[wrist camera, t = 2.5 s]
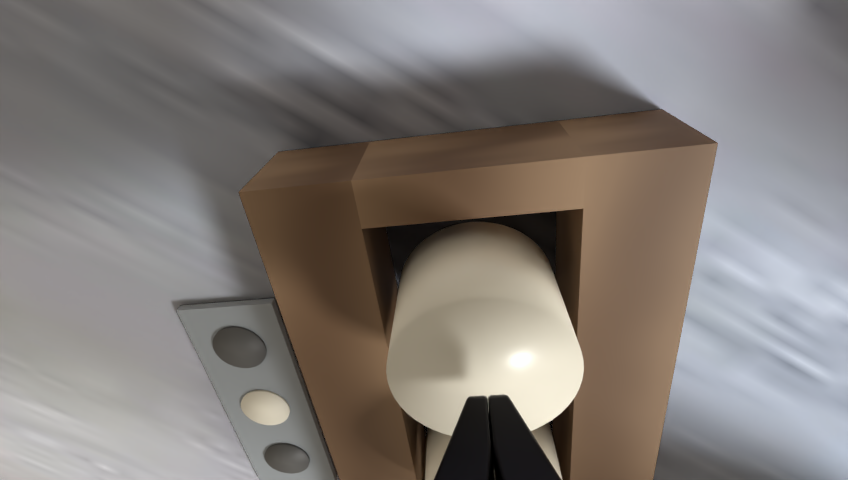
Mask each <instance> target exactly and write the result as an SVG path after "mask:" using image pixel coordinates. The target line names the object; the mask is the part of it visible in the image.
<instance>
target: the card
mask: <svg viewBox="0 0 848 480" xmlns="http://www.w3.org/2000/svg"><path fill="white" fill-rule="evenodd" d="M176 311H177V313H178V315H179V317H180V319H181V321H182V324H183V326H184V328H185V330H186V332H187V334H188V336H189V338H190V340H191V342H192V344H193V346H194V348H195V350H196V352H197V354H198V356H199V358H200V360H201V362H202V364H203V366H204V368H205V370H206V372H207V374H208V376H209V378H210V380H211V382H212V384H213V387H214V389H215V391H216V393H217V395H218V397H219V399H220V401H221V403H222V405H223V407H224V409H225V411H226V413H227V415H228V417H229V419H230V421H231V423H232V425H233V427H234V429H235V431H236V433H237V435H238V437H239V439H240V441H241V443H242V445H243V448H244V450H245V452H246V454H247V456H248V458H249V460H250V462H251V464H252V466H253V468H254V470H255V472H256V474H257V476H258V478H259V480H336V479H337V474H336V471H335V468H334V466H333V463H332V460H331V457H330V454H329V451H328V449H327V446H326V443H325V440H324V437H323V434H322V432H321V429H320V426H319V423H318V420H317V418H316V415H315V412H314V409H313V406H312V403H311V401H310V398H309V395H308V392H307V389H306V386H305V384H304V381H303V378H302V375H301V372H300V370H299V367H298V364H297V361H296V358H295V355H294V353H293V350H292V347H291V344H290V341H289V338H288V336H287V333H286V330H285V327H284V324H283V322H282V319H281V316H280V313H279V310H278V307H277V305H276V302H275V299H274V298H271V299H258V300H245V301H232V302H219V303H206V304H193V305H180V307H179V308H178V309H177V310H176Z"/></svg>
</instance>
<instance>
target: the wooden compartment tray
mask: <svg viewBox="0 0 848 480" xmlns="http://www.w3.org/2000/svg"><path fill="white" fill-rule="evenodd" d="M717 145H718V143H717V142H715V141H714V140H712V139H710V138H709V137H707V136H705V135H704V134H702V133H700V132H699V131H697V130H695V129H694V128H692V127H690V126H689V125H687V124H686V123H684V122H682V121H681V120H679V119H677V118H676V117H674V116H672V115H671V114H669V113H667V112H666V111H664V110H662V109H659V110H650V111H641V112H632V113H623V114H614V115H605V116H596V117H587V118H578V119H569V120H560V121H551V122H542V123H533V124H524V125H515V126H506V127H497V128H488V129H479V130H470V131H461V132H452V133H443V134H434V135H425V136H416V137H407V138H398V139H389V140H380V141H371V142H362V143H353V144H344V145H335V146H326V147H317V148H308V149H299V150H290V151H281V152H278V153H277V154H276V155H275V156H274V157H273V158H272V159H271V160H270V161H269V162H268V163H267V164H266V165H265V166H264V167H263V168H262V169H261V170H260V171H259V172H258V173H257V174H256V175H255V176H254V177H253V178H252V179H251V180H250V181H249V182H248V183H247V184H246V185H245V186H244V187H243V188H242V189H241V190H240V191H239V195H240V198H241V201H242V204H243V207H244V209H245V212H246V215H247V218H248V221H249V224H250V227H251V229H252V232H253V235H254V238H255V241H256V244H257V246H258V249H259V252H260V255H261V258H262V261H263V263H264V266H265V269H266V272H267V275H268V278H269V280H270V283H271V286H272V289H273V292H274V295H275V298H276V300H277V303H278V306H279V309H280V312H281V315H282V317H283V320H284V323H285V326H286V329H287V332H288V334H289V337H290V340H291V343H292V346H293V349H294V351H295V354H296V357H297V360H298V363H299V366H300V368H301V371H302V374H303V377H304V380H305V383H306V386H307V388H308V391H309V394H310V397H311V400H312V403H313V405H314V408H315V411H316V414H317V417H318V420H319V422H320V425H321V428H322V431H323V434H324V437H325V439H326V442H327V445H328V448H329V451H330V454H331V457H332V459H333V462H334V465H335V468H336V471H337V474H338V476H339V479H340V480H425V469H426V447H427V437H426V436H425V431H424V426H423V424H421V423H419V422H418V421H416V420H415V419H414V418H412V417H411V416H410V415H409V414H407V413H406V412H405V411H404V410H403V409H402V407H401V406H400V405H399V404H398V402H397V401H396V400H395V398H394V396H393V394H392V392H391V390H390V387H389V384H388V381H387V374H386V367H387V358H388V351H389V345H390V339H391V333H392V326H393V320H394V314H395V308H396V301H397V295H398V288H397V283H396V277H395V272H394V267H393V261H392V256H391V251H390V246H389V240H388V235H387V230H386V227H388V226H399V225H410V224H421V223H432V222H443V221H454V220H465V219H476V218H487V217H498V216H509V215H520V214H531V213H541V212H552V211H556V266H555V279H556V282H557V284H558V287H559V290H560V293H561V296H562V298H563V301H564V304H565V307H566V309H567V312H568V315H569V318H570V321H571V323H572V326H573V329H574V332H575V335H576V337H577V340H578V343H579V346H580V348H581V351H582V356H583V360H584V373H583V379H582V382H581V385H580V388H579V390H578V392H577V394H576V396H575V398H574V399H573V400H572V402H571V403H570V404H569V406H568V407H567V408H566V409H565V410H564V411H563V412H562V413H561V414H559V415H558V416H557V417H555V418H554V419H553V431H552V436H553V440H554V445H555V449H556V453H557V458H558V462H559V466H560V471H561V475H562V480H653V477H654V472H655V466H656V461H657V456H658V451H659V446H660V441H661V435H662V430H663V425H664V420H665V415H666V409H667V404H668V399H669V394H670V389H671V383H672V378H673V373H674V368H675V363H676V358H677V352H678V347H679V342H680V337H681V332H682V326H683V321H684V316H685V311H686V306H687V300H688V295H689V290H690V285H691V280H692V274H693V269H694V264H695V259H696V254H697V249H698V243H699V238H700V233H701V228H702V223H703V217H704V212H705V207H706V202H707V197H708V191H709V186H710V181H711V176H712V171H713V166H714V160H715V155H716V150H717Z"/></svg>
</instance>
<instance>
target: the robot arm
mask: <svg viewBox="0 0 848 480" xmlns="http://www.w3.org/2000/svg"><path fill="white" fill-rule="evenodd" d="M488 406H489V407H488ZM494 474H495V475H494ZM434 480H561V478H560V477H559V475H558V474H557V472H556V470H555V469H554V467H553V466H552V464H551V462H550V461H549V459H548V458H547V456H546V454H545V453H544V451H543V450H542V448H541V447H540V445H539V443H538V442H537V440H536V439H535V437H534V435H533V434H532V432H531V431H530V429H529V428H528V426H527V424H526V423H525V421H524V420H523V418H522V416H521V415H520V413H519V412H518V410H517V409H516V407H515V405H514V404H513V402H512V401H511V399H510V398H509V396H508V395H505V394H502V395H490V396H489V397H488V398H487V397H486V396H484V395H482V396H469V397H468V398H467V399H466V402H465V404H464V407H463V409H462V412H461V414H460V416H459V419H458V421H457V424H456V426H455V429H454V431H453V434H452V436H451V439H450V441H449V443H448V446H447V448H446V451H445V453H444V456H443V458H442V461H441V463H440V466H439V468H438V470H437V473H436V475H435V478H434Z"/></svg>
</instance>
